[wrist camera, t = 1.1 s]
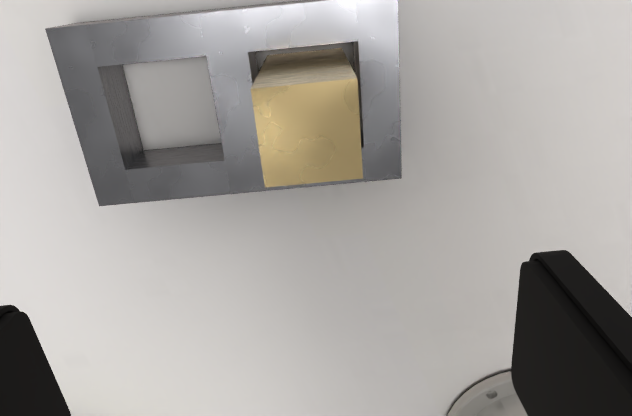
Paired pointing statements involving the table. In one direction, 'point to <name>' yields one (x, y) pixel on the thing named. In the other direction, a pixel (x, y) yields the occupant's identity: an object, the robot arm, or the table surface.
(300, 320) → the table surface
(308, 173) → the brass plug
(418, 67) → the table surface
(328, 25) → the cinder block
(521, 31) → the table surface
